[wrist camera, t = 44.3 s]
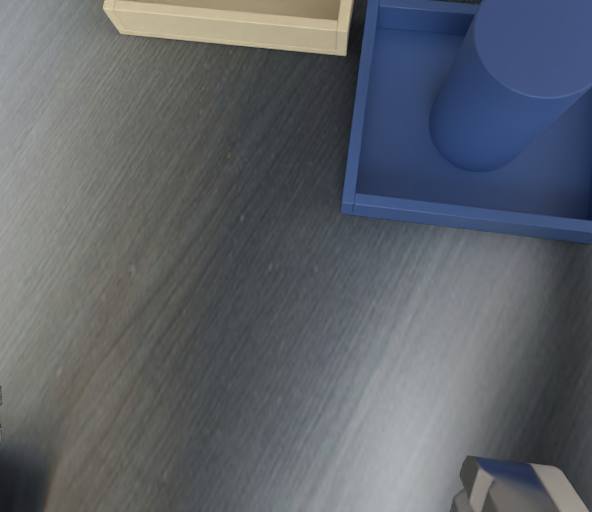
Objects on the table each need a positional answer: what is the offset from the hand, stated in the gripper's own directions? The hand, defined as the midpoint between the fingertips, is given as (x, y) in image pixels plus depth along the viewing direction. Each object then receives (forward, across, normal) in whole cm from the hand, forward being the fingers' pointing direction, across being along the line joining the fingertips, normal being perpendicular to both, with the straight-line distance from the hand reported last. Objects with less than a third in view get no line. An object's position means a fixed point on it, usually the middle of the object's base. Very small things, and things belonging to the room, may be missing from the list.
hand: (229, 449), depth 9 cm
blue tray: (+22, -9, -6) cm, 25 cm away
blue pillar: (+22, -9, -6) cm, 24 cm away
